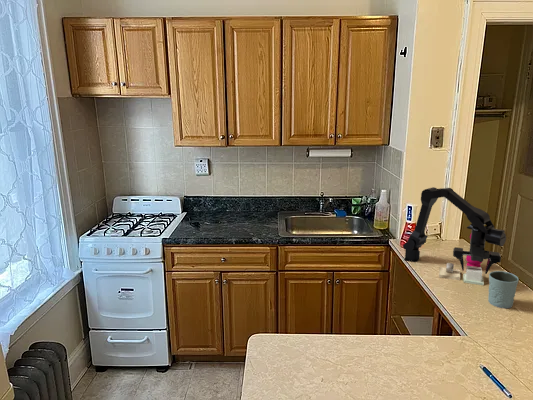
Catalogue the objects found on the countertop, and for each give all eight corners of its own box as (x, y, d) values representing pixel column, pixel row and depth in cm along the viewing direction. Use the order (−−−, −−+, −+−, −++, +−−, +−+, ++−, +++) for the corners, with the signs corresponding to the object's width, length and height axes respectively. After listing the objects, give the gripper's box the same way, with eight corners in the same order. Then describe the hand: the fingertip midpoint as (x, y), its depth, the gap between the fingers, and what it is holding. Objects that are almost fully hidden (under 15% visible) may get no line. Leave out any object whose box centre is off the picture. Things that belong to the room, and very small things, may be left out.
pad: (463, 282, 177) (463, 280, 177) (463, 275, 184) (463, 273, 184) (483, 285, 174) (483, 283, 174) (482, 277, 181) (482, 276, 181)
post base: (438, 277, 183) (439, 266, 182) (439, 269, 191) (440, 259, 190) (459, 280, 179) (461, 269, 178) (459, 272, 187) (460, 261, 186)
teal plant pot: (513, 299, 161) (516, 273, 158) (516, 311, 152) (520, 283, 149) (485, 295, 165) (488, 269, 162) (486, 306, 157) (490, 279, 154)
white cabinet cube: (466, 279, 178) (467, 270, 176) (465, 274, 183) (466, 265, 182) (481, 282, 175) (482, 272, 174) (480, 276, 180) (481, 267, 179)
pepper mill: (483, 271, 188) (488, 231, 183) (467, 270, 189) (471, 231, 185) (479, 265, 195) (483, 226, 190) (463, 264, 196) (467, 226, 191)
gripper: (454, 243, 171) (451, 276, 175) (504, 248, 163) (499, 283, 167) (454, 235, 181) (451, 266, 185) (501, 240, 173) (497, 272, 177)
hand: (474, 272), depth 178 cm, fingers open, 9 cm apart
